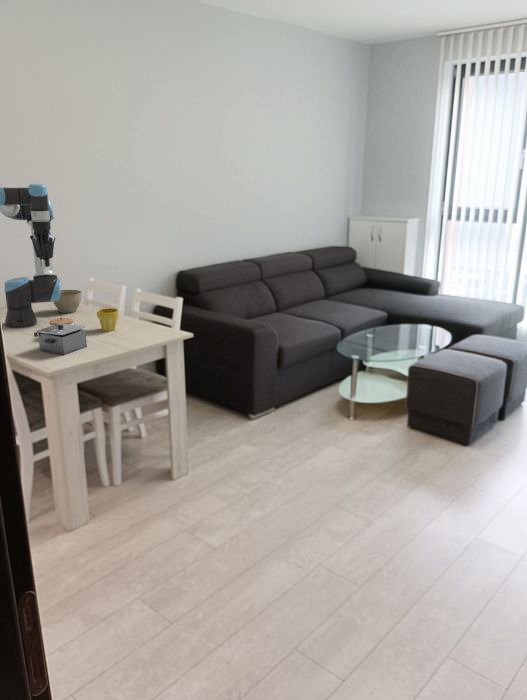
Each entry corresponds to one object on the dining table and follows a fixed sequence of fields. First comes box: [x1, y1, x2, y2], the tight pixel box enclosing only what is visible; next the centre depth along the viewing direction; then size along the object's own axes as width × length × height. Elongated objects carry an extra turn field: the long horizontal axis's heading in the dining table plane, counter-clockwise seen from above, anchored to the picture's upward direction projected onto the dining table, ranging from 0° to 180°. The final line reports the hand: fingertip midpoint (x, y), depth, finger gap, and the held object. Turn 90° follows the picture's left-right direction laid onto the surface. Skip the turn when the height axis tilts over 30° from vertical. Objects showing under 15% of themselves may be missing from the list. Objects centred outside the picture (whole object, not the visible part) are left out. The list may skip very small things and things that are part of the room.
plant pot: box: [96, 307, 120, 332], centre depth 286 cm, size 10×10×10 cm
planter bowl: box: [53, 289, 83, 314], centre depth 321 cm, size 16×16×11 cm
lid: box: [36, 324, 86, 335], centre depth 253 cm, size 15×14×3 cm
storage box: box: [33, 328, 88, 356], centre depth 255 cm, size 15×17×8 cm
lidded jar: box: [49, 316, 74, 327], centre depth 274 cm, size 11×11×9 cm
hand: (46, 273), depth 261 cm, fingers closed
